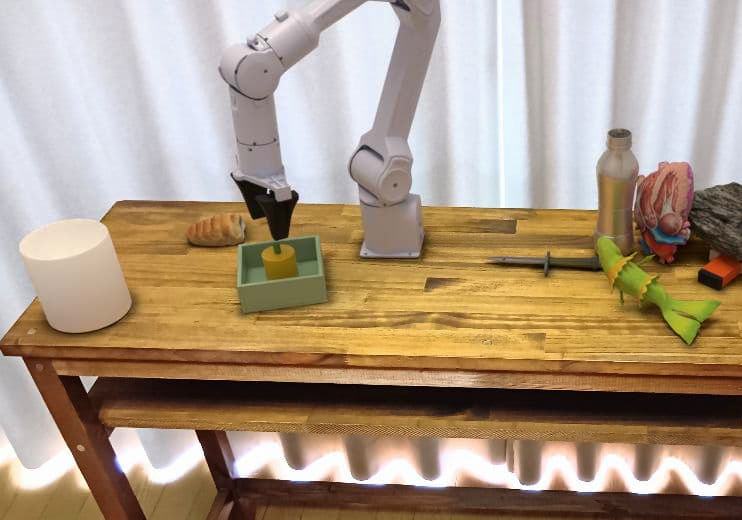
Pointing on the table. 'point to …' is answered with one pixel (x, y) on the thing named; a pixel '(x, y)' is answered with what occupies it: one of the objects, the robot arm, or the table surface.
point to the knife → (552, 261)
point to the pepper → (280, 262)
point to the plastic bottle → (616, 191)
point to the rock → (719, 218)
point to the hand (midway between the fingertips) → (269, 227)
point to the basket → (282, 291)
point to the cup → (76, 275)
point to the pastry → (217, 230)
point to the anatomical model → (664, 208)
